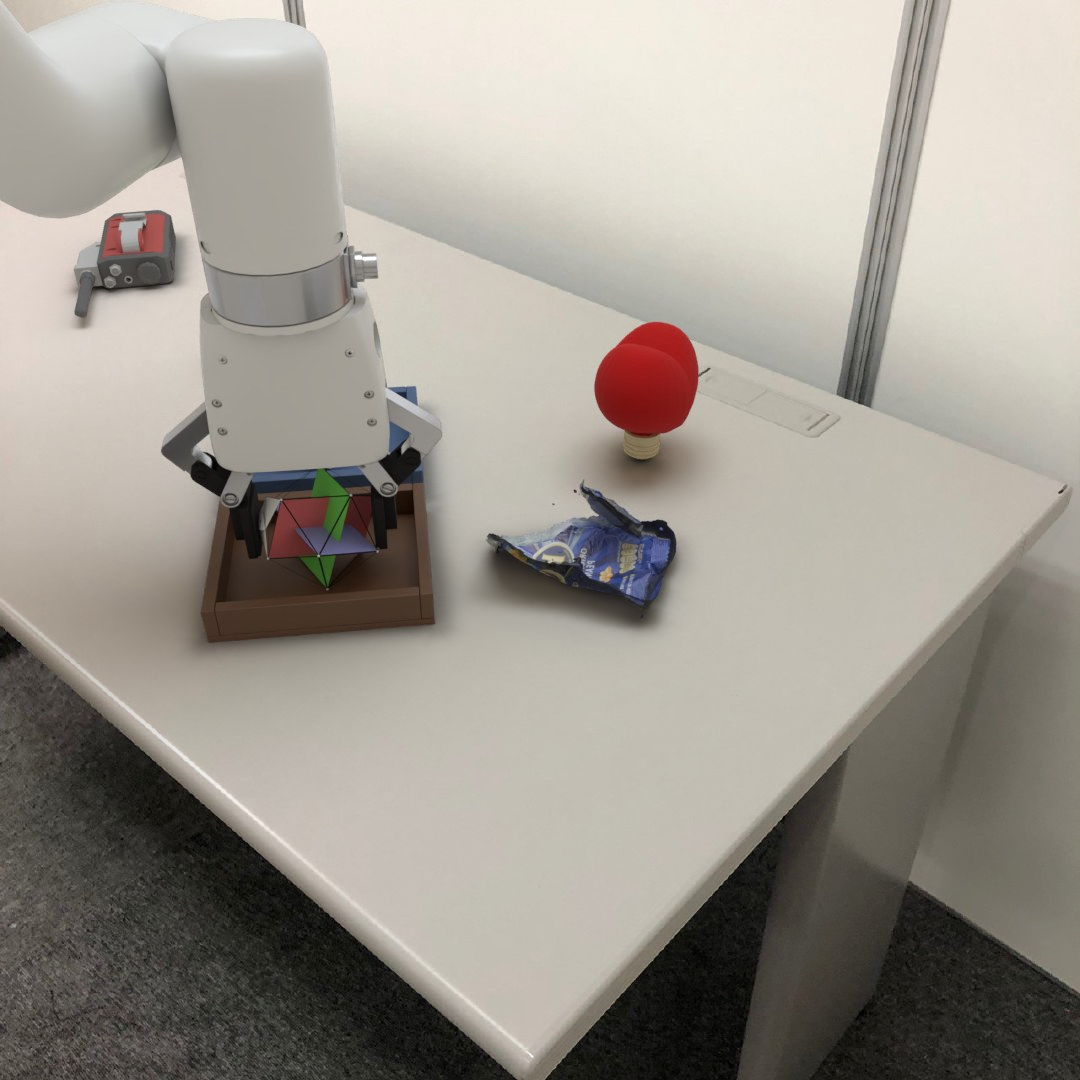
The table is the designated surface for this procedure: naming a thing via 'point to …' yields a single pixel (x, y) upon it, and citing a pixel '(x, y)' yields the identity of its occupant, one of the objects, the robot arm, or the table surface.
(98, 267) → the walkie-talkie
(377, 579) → the walnut tray
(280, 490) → the blue tray
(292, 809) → the table surface
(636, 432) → the light bulb
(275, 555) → the geometric puzzle
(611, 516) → the snack package
